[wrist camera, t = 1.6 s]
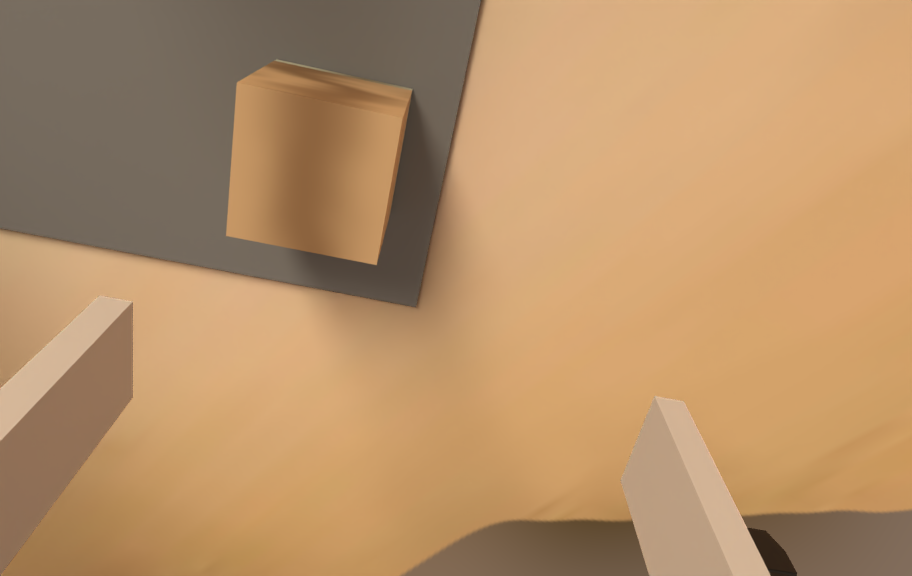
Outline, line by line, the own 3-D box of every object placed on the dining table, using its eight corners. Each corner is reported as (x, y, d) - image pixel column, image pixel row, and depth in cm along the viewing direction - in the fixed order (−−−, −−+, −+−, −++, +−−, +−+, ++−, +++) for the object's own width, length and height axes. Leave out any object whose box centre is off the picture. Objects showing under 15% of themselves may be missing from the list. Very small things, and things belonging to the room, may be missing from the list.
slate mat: (-32, 218, 39) (-37, 221, 39) (-71, -145, 31) (-77, -146, 31) (416, 304, 41) (416, 307, 41) (483, -15, 34) (484, -15, 33)
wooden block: (264, 188, 38) (225, 235, 31) (277, 58, 35) (236, 82, 28) (390, 213, 38) (376, 265, 32) (412, 88, 35) (402, 117, 29)
